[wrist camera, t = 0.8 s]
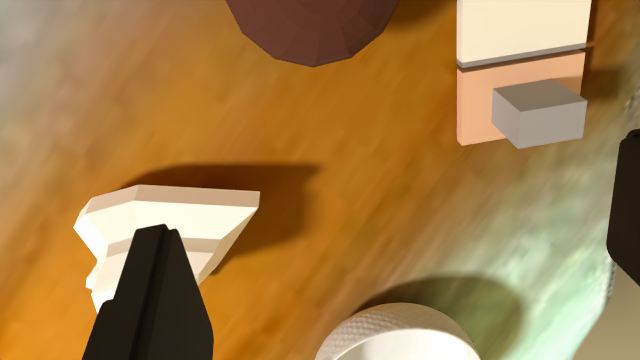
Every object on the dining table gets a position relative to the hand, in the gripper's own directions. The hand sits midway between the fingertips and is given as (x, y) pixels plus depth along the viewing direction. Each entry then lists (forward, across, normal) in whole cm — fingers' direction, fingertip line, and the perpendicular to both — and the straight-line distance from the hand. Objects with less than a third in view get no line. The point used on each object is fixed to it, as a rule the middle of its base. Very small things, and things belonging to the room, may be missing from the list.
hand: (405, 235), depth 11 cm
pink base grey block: (+31, -17, +11) cm, 37 cm away
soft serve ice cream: (+32, +14, +17) cm, 39 cm away
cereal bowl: (+32, -3, +37) cm, 49 cm away
